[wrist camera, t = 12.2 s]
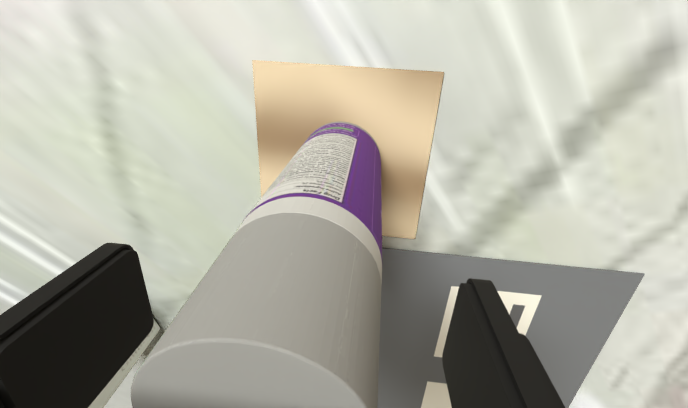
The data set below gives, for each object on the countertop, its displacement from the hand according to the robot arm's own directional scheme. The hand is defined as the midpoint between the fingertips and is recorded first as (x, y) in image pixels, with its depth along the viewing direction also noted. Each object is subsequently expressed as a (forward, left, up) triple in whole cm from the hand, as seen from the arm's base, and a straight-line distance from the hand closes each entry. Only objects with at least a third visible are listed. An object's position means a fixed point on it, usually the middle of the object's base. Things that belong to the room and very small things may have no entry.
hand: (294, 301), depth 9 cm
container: (+1, 0, -11) cm, 11 cm away
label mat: (-16, -11, -11) cm, 23 cm away
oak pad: (+1, 0, -11) cm, 11 cm away
